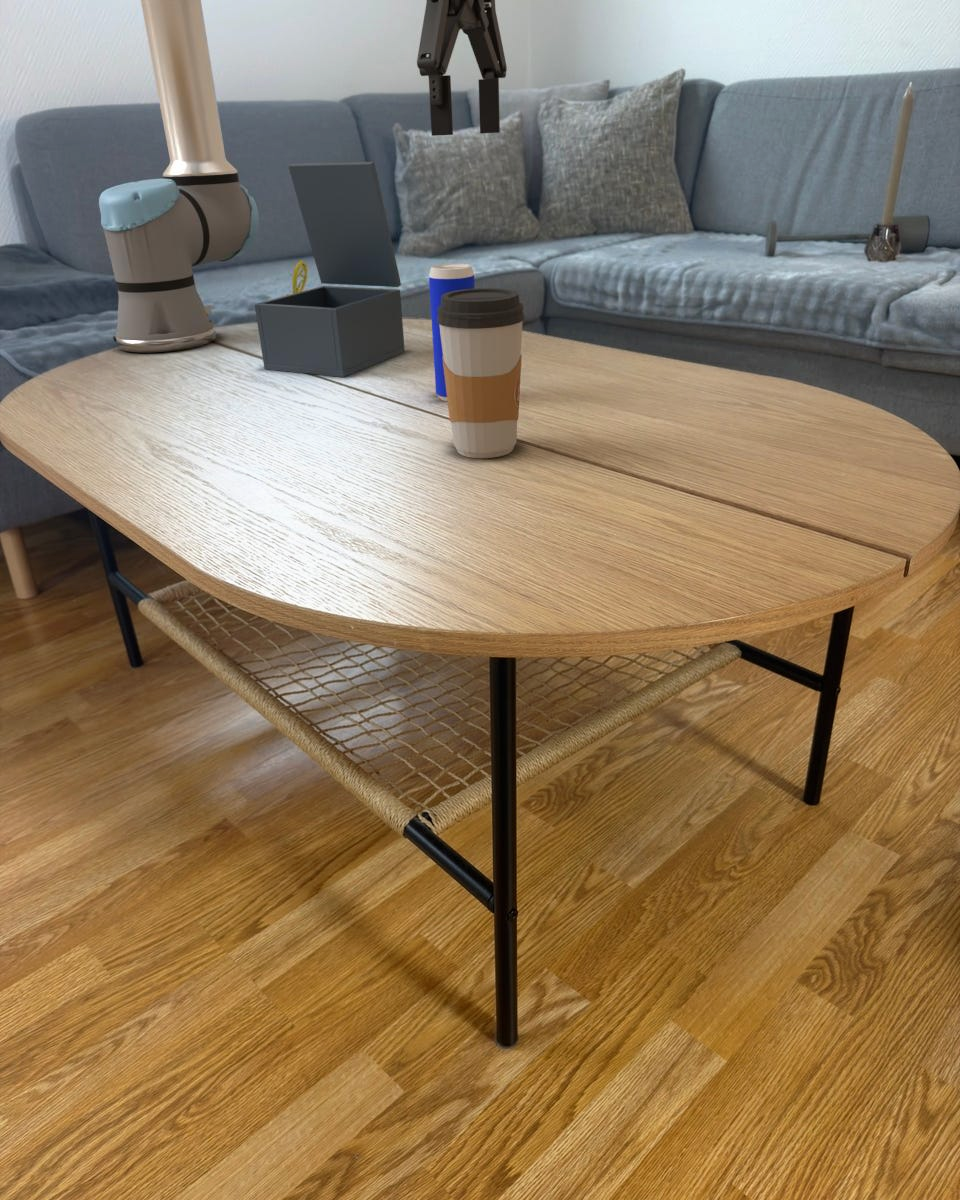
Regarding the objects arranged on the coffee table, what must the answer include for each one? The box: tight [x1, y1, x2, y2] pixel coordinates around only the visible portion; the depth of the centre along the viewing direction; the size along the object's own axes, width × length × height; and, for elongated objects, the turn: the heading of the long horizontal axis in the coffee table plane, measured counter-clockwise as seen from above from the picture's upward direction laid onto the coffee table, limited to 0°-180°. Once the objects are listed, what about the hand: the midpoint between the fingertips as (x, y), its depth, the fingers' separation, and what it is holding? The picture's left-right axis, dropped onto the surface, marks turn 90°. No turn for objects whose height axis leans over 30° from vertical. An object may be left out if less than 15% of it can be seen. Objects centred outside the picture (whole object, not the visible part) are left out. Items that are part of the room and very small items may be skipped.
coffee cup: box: [437, 287, 526, 459], centre depth 85 cm, size 8×8×15 cm
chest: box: [254, 285, 406, 378], centre depth 123 cm, size 16×14×9 cm
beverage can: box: [428, 262, 476, 402], centre depth 102 cm, size 5×5×15 cm
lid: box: [288, 161, 402, 288], centre depth 121 cm, size 16×14×1 cm
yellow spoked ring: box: [286, 260, 308, 296], centre depth 145 cm, size 13×3×10 cm
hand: (467, 134), depth 116 cm, fingers open, 13 cm apart
